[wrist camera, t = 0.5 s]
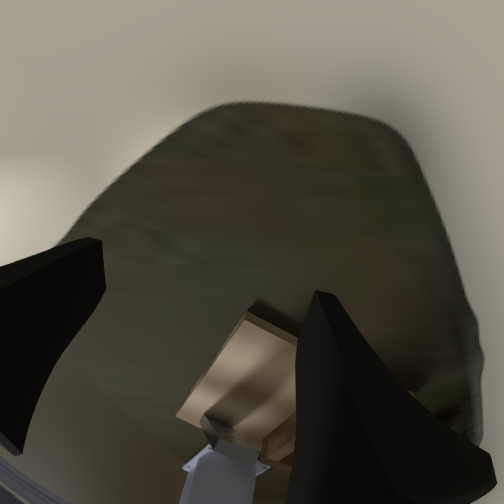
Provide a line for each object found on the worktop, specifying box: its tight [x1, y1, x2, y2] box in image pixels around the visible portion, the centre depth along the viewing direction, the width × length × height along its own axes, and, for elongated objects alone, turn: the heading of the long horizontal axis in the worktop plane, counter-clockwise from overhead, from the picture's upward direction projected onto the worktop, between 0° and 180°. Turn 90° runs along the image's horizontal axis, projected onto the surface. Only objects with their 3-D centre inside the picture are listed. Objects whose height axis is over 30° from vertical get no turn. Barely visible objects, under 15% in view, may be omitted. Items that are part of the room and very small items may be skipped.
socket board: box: [175, 311, 415, 472], centre depth 22 cm, size 14×18×4 cm
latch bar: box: [199, 414, 260, 465], centre depth 20 cm, size 9×3×1 cm
